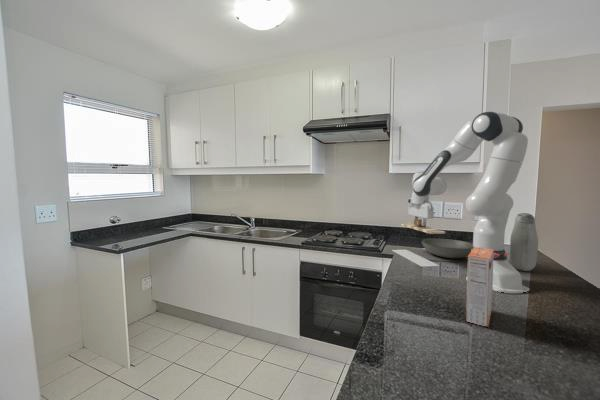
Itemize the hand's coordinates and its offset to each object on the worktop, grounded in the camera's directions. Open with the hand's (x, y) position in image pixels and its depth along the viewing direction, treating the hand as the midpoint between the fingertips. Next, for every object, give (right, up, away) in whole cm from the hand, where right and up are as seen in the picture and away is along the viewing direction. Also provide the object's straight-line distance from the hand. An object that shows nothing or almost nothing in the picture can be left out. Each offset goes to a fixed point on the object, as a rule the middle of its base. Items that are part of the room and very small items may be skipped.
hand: (419, 224), depth 153 cm
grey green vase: (+41, -20, -21) cm, 50 cm away
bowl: (+18, -19, +3) cm, 26 cm away
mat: (-4, -19, +1) cm, 19 cm away
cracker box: (-11, -23, -67) cm, 72 cm away
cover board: (0, -2, 0) cm, 2 cm away
